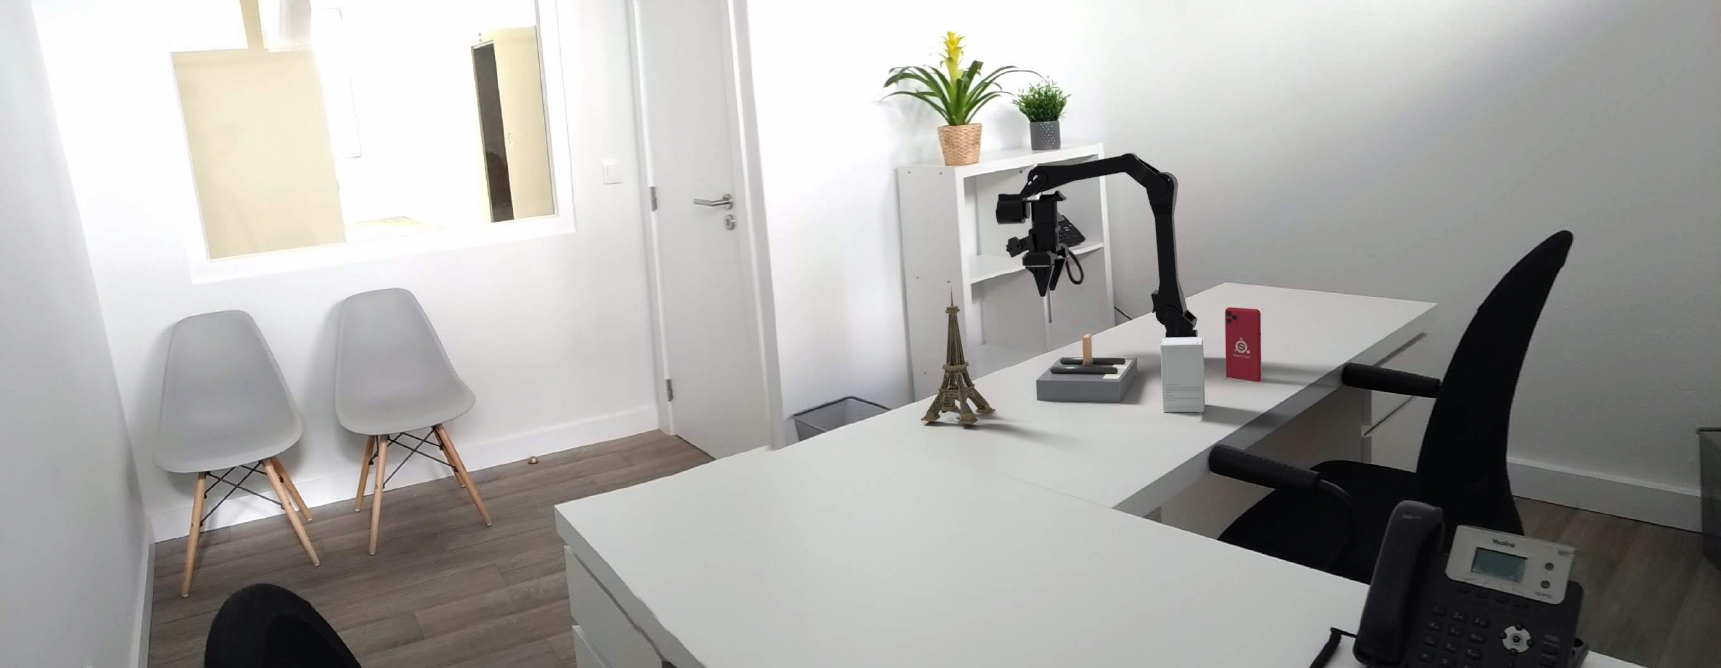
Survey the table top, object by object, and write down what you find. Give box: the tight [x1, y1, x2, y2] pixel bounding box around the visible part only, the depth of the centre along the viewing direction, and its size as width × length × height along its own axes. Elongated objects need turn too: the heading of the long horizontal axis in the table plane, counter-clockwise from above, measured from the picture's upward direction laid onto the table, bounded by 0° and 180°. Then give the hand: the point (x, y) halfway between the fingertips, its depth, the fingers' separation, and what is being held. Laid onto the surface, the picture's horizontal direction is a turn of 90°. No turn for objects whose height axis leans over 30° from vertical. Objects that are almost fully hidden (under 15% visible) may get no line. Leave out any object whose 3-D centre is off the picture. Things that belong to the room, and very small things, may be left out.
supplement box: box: [1159, 336, 1206, 413], centre depth 197 cm, size 7×7×13 cm
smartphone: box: [1224, 306, 1262, 383], centre depth 212 cm, size 7×1×15 cm, turn 42°
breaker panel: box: [1035, 356, 1138, 403], centre depth 218 cm, size 16×22×5 cm
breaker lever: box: [1082, 333, 1094, 367], centre depth 217 cm, size 2×4×6 cm, turn 157°
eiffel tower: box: [920, 287, 996, 425], centre depth 202 cm, size 11×11×25 cm
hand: (1047, 293), depth 238 cm, fingers open, 9 cm apart
